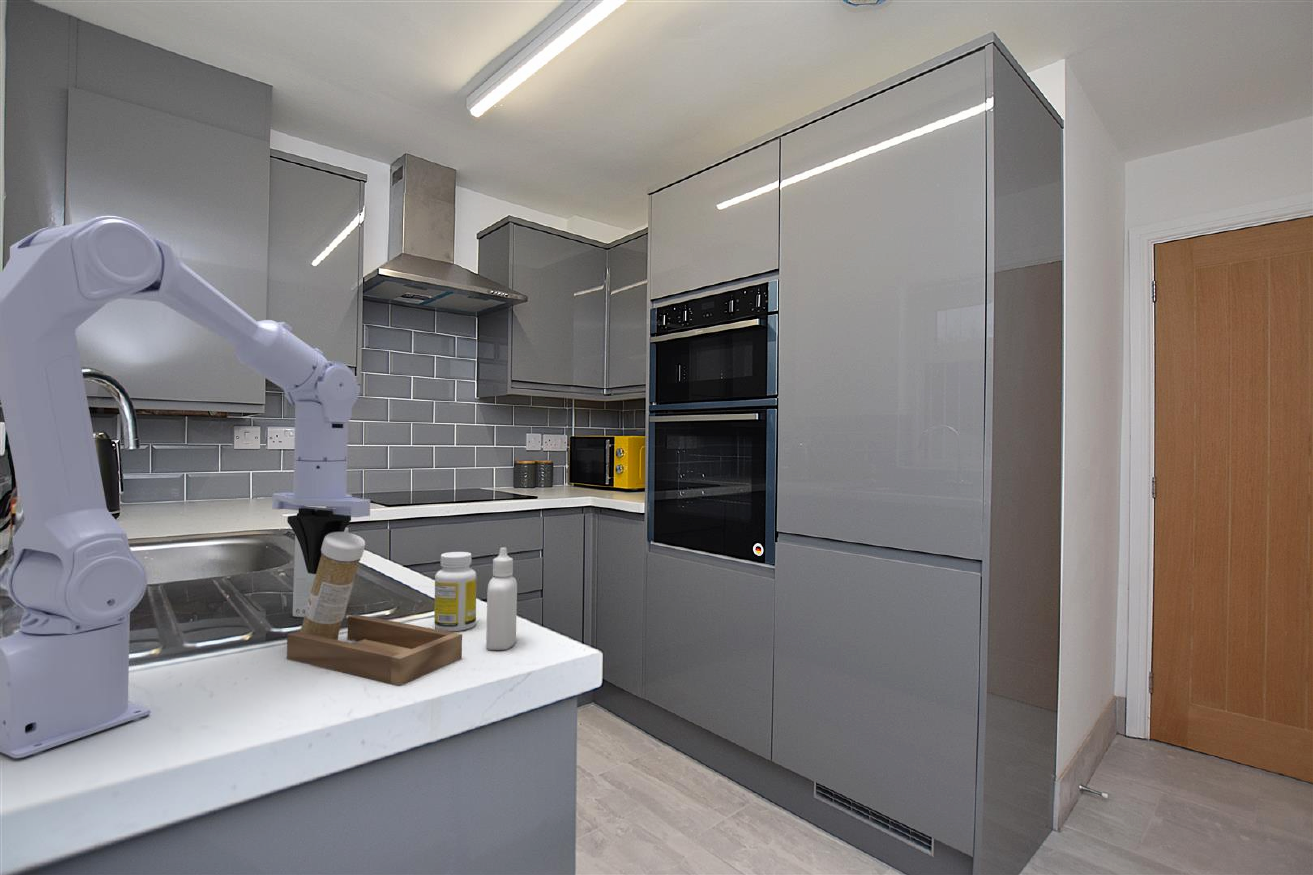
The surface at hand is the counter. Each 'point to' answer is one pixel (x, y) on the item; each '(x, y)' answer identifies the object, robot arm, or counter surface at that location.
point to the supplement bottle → (455, 593)
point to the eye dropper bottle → (501, 604)
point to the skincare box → (301, 582)
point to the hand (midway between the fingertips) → (318, 572)
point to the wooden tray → (379, 650)
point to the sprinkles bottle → (332, 584)
